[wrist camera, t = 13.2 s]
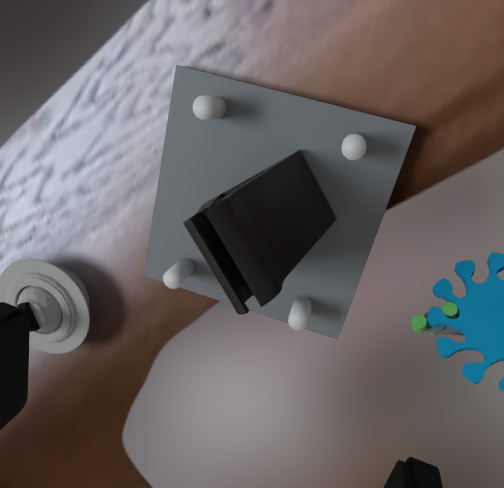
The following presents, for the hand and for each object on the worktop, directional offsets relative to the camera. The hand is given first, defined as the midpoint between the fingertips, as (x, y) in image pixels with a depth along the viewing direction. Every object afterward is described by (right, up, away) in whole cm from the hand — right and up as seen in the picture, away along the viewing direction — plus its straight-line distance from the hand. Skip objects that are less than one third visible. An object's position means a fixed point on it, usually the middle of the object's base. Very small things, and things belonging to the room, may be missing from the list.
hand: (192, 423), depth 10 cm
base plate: (+2, +7, +24) cm, 26 cm away
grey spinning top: (-18, -1, +32) cm, 37 cm away
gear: (+19, 0, +23) cm, 30 cm away
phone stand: (+3, +7, +23) cm, 25 cm away
